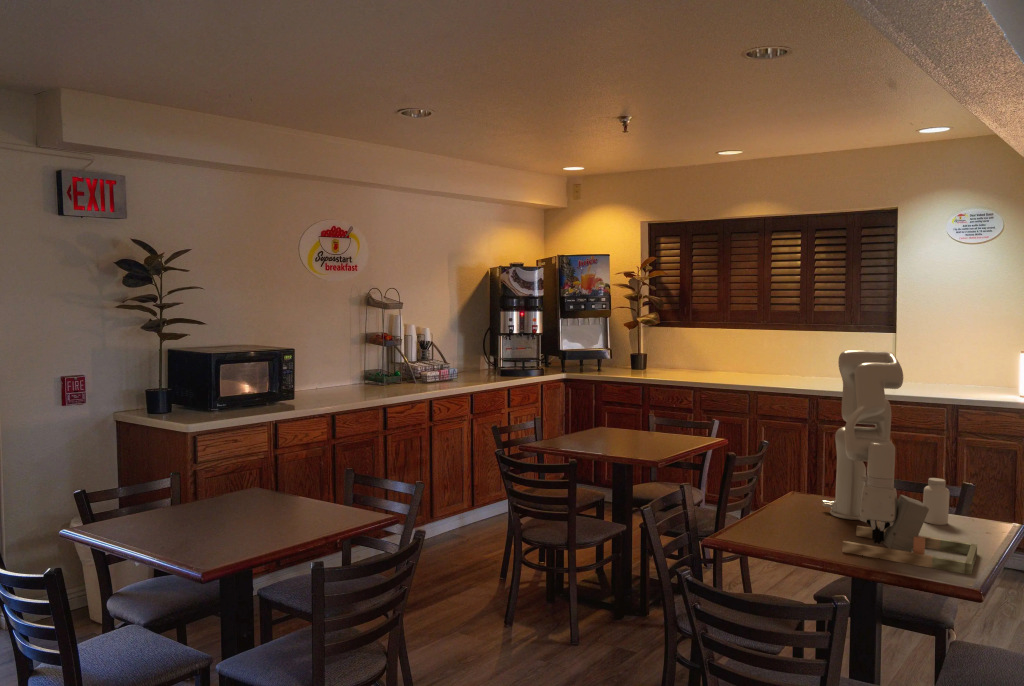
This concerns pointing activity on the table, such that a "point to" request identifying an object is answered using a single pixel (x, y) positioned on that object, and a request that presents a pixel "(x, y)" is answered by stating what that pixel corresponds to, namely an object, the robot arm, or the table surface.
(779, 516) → the table surface
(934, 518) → the pill bottle
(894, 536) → the skincare box
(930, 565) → the lane
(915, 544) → the post
